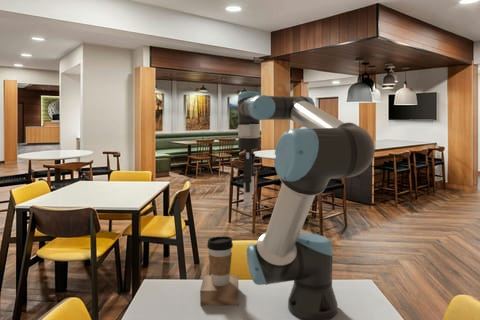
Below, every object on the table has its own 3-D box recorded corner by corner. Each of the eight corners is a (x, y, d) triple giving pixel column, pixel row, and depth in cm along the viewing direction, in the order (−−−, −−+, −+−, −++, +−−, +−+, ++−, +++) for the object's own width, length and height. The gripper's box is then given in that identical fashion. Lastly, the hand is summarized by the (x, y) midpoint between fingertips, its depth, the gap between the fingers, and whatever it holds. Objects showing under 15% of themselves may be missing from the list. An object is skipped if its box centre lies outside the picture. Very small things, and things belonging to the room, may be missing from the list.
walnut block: (238, 288, 132) (238, 275, 131) (238, 305, 120) (237, 290, 119) (204, 289, 132) (203, 275, 131) (200, 305, 120) (200, 290, 119)
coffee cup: (229, 288, 120) (229, 243, 119) (204, 286, 122) (203, 241, 121) (235, 278, 128) (235, 235, 127) (211, 276, 130) (211, 234, 129)
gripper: (241, 135, 143) (241, 191, 145) (234, 138, 118) (234, 205, 120) (261, 135, 142) (261, 191, 144) (258, 138, 117) (258, 205, 119)
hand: (249, 197), depth 132 cm, fingers open, 13 cm apart
